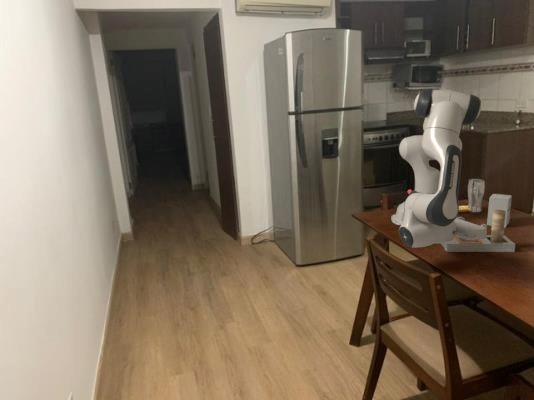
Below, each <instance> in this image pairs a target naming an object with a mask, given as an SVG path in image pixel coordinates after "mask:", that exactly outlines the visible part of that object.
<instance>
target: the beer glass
mask: <svg viewBox="0 0 534 400" xmlns="http://www.w3.org/2000/svg"><path fill="white" fill-rule="evenodd" d="M485 187H486V186H485V180H484V179H481V178H471V179H468V184H467V198H468V206H467V209H468V208H469V209H471V212H470V213H473V214H474V213H481V212H482V201H483V198H484V194H485Z"/></svg>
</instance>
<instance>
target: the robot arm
mask: <svg viewBox="0 0 534 400" xmlns="http://www.w3.org/2000/svg"><path fill="white" fill-rule="evenodd" d="M413 109H414V113H415V115H416V116H418V117H419V118H421V119H424V121H423V125H422V129H423V133H422V134H420V135H419V134H418V135H411V136H407V137H404V138H403V139H401V141H400V143H399V146H398V150H399V155H400V156H401V158H402V159H403V160H405V161H406V162H407V163H409V165H410V166H411V167H412V170H413V173H414V189H413V190H412V189H408V190H407V193H408V196H407V198H405V200H404V201H403V202H402V203H400V204H399V205H398V206H397V209H396V212H395V213H394V214H392V215H391V218H390V219H391V222H392V224H394V225H396V226H397V225H398V226H400V227H399V228H398V235H399V239H400V240H401V242H402V243H403V244H404V245H405V246H406V247H410V248H415V249H416V248H424V247H428V246H431V245H433V244H441V243H443V242H448V241H451V240H453V239H454V238H455V236H457V237H460V238H462V239H465V240H479V239H484V238H486V235H487V234H488V231H487V230H488V225H487V223H486V224H485V223H479V224H475V223H473V222H469V221H467V220H466V219H465V217H463V216H458V215H459V209H460V206H459V191H460V190H459V189H460V183H461V182H460V181H461V172H462V162H463V159H462V157H463V154H462V150H463V142H462V140H461V138H460V134H461V129H462V125H463V126H464V125H467V126H468V125H471V124H474V123H475V121H476V120H477V119H478V117H479V116H480V114H481V111H482V101H481V99H480V97H479V96H477V95H474V94H468V93H464V92H461V91H455V90H452V89H433V88H423V89H421V90H420V92H419V93H418V94H417V95H416V96H415V99H414V103H413ZM430 161H437V162H438V163H439V165H440V170H439V169H437V168H435V167H433V166H431V165H430Z"/></svg>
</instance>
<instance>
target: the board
mask: <svg viewBox="0 0 534 400" xmlns="http://www.w3.org/2000/svg"><path fill="white" fill-rule="evenodd" d="M490 239H491V234H488V235H487V234H486V238H484V239H479V240H465V239H462V238H460V237H457V236H455V238H454V239H453V240H451V241H448V242H443V243H440V244H441V246H442V248H443V249H444V250H445V252H448V253H449V252H450V253H453V252H455V253H459V252H460V253H463V252H464V253H465V252H466V253H469V252H470V253H471V252H472V253H474V252H475V253H476V252H477V253H515V250H516V243H514V242H513V241H512V240H511V239H510V238H508V237H507V236H506V235H503V243H491V242H490Z"/></svg>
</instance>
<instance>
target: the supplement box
mask: <svg viewBox="0 0 534 400" xmlns="http://www.w3.org/2000/svg"><path fill="white" fill-rule="evenodd" d="M512 199H513V196H512V195H510V194H501V193H492V194H491V196H489V201H488V209H487V220H486V221H487V222H486V225H487V226H490V227H492V217H493V210H503V211H506V215H505V225H504V229H506V228H507V226H508V225H509V224H510V215H511V208H512Z"/></svg>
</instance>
